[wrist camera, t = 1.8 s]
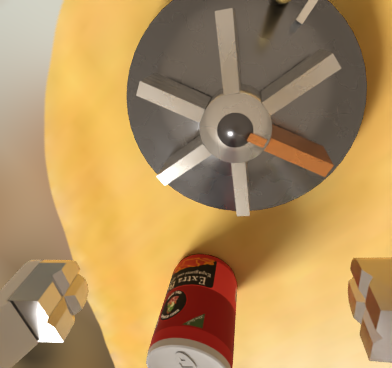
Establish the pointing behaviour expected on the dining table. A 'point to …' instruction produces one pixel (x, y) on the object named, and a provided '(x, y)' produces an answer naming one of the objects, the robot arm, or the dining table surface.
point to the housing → (256, 77)
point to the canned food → (196, 317)
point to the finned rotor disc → (241, 115)
